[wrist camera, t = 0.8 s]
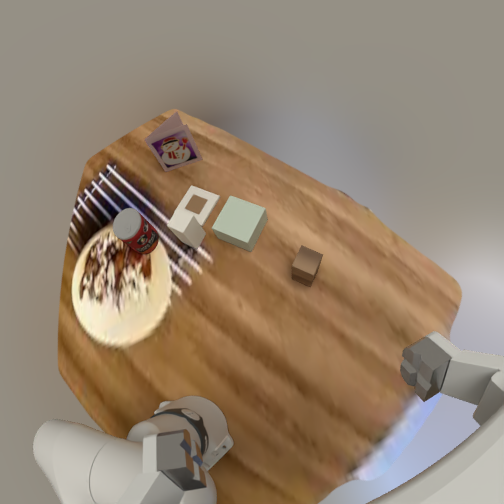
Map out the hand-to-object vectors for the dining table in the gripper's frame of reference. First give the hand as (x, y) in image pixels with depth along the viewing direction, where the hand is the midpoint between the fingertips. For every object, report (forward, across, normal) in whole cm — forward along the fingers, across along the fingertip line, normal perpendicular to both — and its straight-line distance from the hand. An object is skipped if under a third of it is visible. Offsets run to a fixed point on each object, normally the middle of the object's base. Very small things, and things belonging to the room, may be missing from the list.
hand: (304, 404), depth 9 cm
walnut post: (+49, +17, -22) cm, 56 cm away
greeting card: (+81, -3, +9) cm, 81 cm away
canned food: (+68, -18, -9) cm, 71 cm away
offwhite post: (+63, -5, -11) cm, 64 cm away
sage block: (+61, +7, -11) cm, 62 cm away
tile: (+69, -2, -4) cm, 69 cm away
